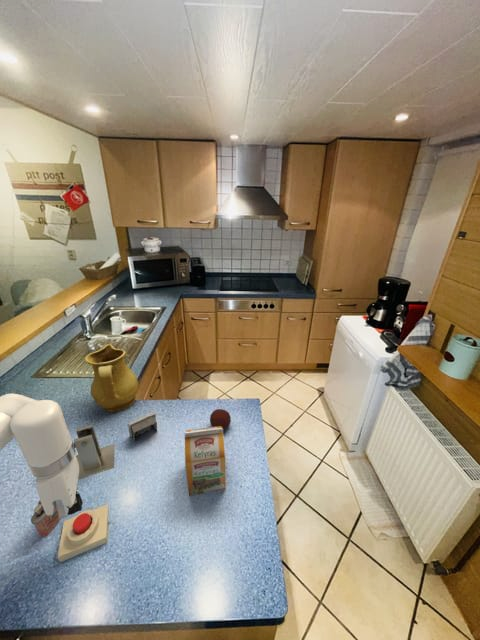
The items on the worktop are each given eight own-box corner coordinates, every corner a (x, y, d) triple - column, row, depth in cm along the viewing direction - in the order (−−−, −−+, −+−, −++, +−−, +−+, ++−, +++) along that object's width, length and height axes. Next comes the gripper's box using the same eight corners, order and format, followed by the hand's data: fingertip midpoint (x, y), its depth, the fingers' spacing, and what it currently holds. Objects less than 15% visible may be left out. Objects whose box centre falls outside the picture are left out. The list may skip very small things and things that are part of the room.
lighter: (48, 541, 61) (35, 517, 57) (36, 538, 62) (22, 514, 57) (74, 506, 68) (64, 482, 64) (63, 503, 69) (52, 480, 65)
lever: (52, 472, 73) (42, 467, 71) (55, 462, 76) (45, 458, 74) (92, 440, 74) (84, 436, 72) (93, 432, 77) (85, 427, 75)
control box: (59, 562, 58) (54, 553, 56) (66, 525, 64) (62, 516, 63) (107, 542, 61) (104, 533, 60) (109, 508, 68) (106, 500, 66)
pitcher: (149, 389, 111) (137, 341, 100) (125, 423, 95) (107, 371, 84) (114, 385, 114) (99, 338, 103) (85, 417, 98) (63, 366, 86)
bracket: (69, 484, 74) (56, 452, 68) (74, 458, 81) (62, 427, 75) (114, 469, 78) (105, 438, 72) (115, 446, 85) (107, 416, 80)
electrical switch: (155, 425, 94) (153, 408, 89) (161, 435, 90) (158, 418, 86) (129, 437, 89) (125, 420, 84) (134, 449, 85) (130, 431, 81)
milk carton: (221, 457, 82) (221, 413, 74) (225, 489, 73) (225, 444, 65) (189, 461, 81) (184, 418, 73) (188, 496, 71) (183, 450, 63)
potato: (212, 418, 97) (211, 404, 94) (231, 419, 97) (231, 405, 94) (208, 433, 91) (207, 419, 88) (229, 435, 90) (229, 421, 87)
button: (73, 536, 59) (71, 532, 58) (75, 520, 62) (73, 516, 61) (90, 530, 60) (88, 526, 60) (92, 514, 63) (90, 510, 63)
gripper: (40, 433, 56) (62, 485, 63) (16, 499, 43) (47, 554, 51) (79, 423, 58) (95, 474, 66) (67, 483, 46) (89, 537, 54)
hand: (74, 509), depth 58 cm, fingers closed
